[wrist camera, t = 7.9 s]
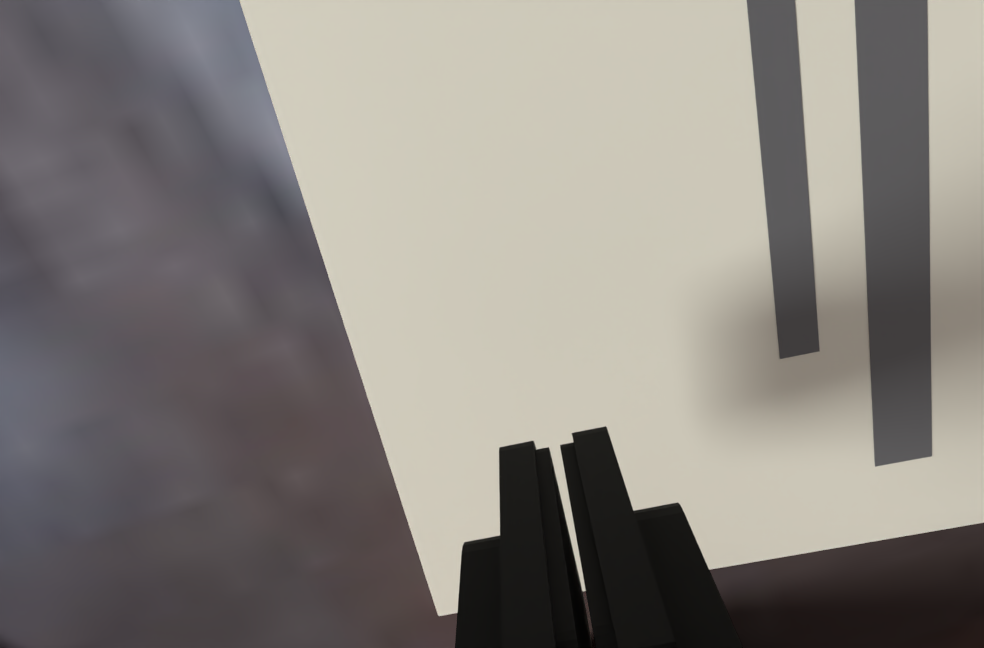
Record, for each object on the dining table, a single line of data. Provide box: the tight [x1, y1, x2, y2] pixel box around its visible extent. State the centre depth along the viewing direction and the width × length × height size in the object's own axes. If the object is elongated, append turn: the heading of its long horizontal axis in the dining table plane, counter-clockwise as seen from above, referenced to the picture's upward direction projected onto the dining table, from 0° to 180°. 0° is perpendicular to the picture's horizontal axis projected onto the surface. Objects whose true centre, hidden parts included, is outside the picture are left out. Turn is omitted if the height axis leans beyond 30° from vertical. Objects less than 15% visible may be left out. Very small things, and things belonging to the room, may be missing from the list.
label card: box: [240, 0, 984, 616], centre depth 13 cm, size 16×14×1 cm
